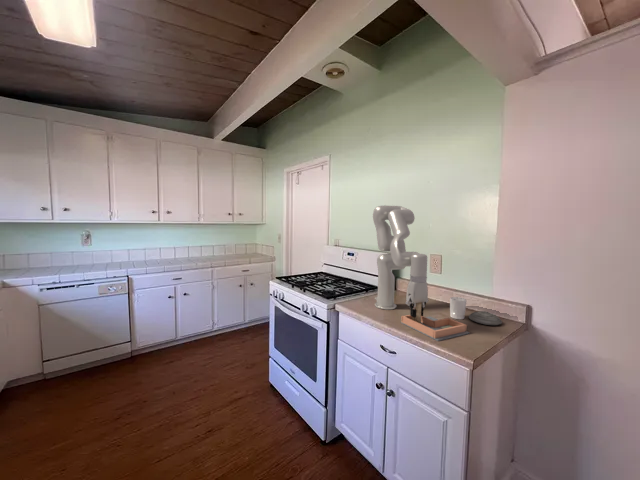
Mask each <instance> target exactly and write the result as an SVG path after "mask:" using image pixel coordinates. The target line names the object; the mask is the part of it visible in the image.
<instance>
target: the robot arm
mask: <svg viewBox="0 0 640 480" xmlns="http://www.w3.org/2000/svg"><path fill="white" fill-rule="evenodd" d="M415 219H416V218H415V214H414V212H413V210H411V209H410V208H407V207H404V206H401V205H386V204H385V205H378V206H376V207H374V210H373V213H372V220H373V224H374V226H375V232H376V239H377V247H378V250H379V251H380V252H390V253H381V254H380V255H378V256H377V258H376V266H377V274H378V276H377V277H378V278H377V296H375V297H374V300H376V302H375V303H374V306H375V308H377V309H380V310H381V309H382V310H387V311H388V310H389V311H390V310H394V309H397V304H396V303H395V281H396V280H395V275H394V274H393V271H394V270H397V271H398V270H404V269H405V268H406V267H410V274H409V275H410V276H409V281H408V284H407V288H406V299H405V300H406V301H405V304H406V305H407V306H408V307H409V309H410V311H409V315H410V316H412V317H414V318H415V317H416V309H415V308H416V303H420V302H422V306H421V316H424V308H425V306H426V305H427V303H428V302H429V298H428V297H429V291H428V290H429V288H428V282H427V280H428V255H427V254H424V253H420V252H419V251H418V252H417V251H406V250H407V249H406V242H405V240H406V239H407V238H408V237H410V234H411V232H410V229H409V226H408V225H412V224H413V223H414V222H415ZM388 221H389V223H388Z"/></svg>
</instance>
